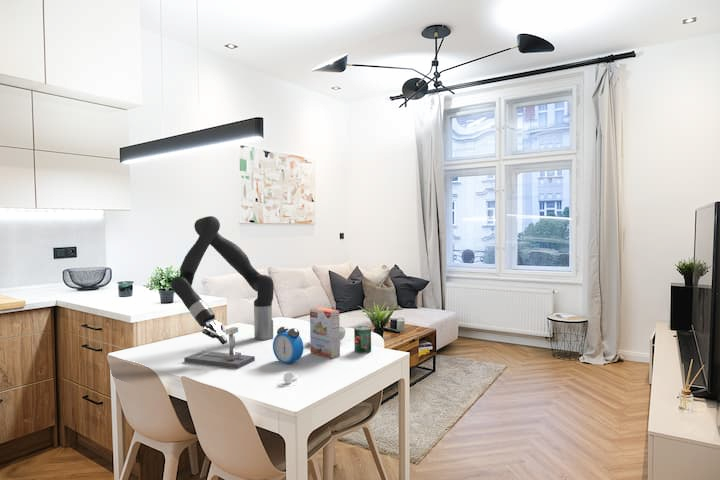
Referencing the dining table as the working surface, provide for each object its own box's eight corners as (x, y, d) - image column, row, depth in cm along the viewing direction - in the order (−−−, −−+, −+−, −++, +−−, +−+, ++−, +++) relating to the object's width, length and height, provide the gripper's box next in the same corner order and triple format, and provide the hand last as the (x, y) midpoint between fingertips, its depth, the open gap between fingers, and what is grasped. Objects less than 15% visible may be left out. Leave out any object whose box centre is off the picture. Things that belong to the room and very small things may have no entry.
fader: (223, 358, 195) (222, 329, 194) (231, 355, 200) (231, 326, 200) (233, 359, 193) (232, 330, 192) (241, 356, 198) (240, 327, 198)
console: (184, 362, 199) (184, 357, 198) (203, 354, 210) (203, 350, 210) (237, 368, 188) (237, 363, 188) (254, 360, 199) (254, 356, 199)
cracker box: (309, 353, 210) (309, 308, 210) (319, 350, 215) (318, 306, 214) (330, 359, 201) (330, 311, 200) (340, 356, 205) (339, 309, 204)
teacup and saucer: (292, 378, 177) (292, 368, 177) (305, 383, 171) (304, 372, 171) (273, 383, 171) (273, 373, 171) (285, 389, 165) (285, 378, 165)
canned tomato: (374, 351, 213) (374, 327, 213) (362, 354, 207) (362, 330, 207) (362, 348, 219) (362, 325, 218) (350, 351, 213) (350, 327, 213)
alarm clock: (272, 361, 198) (271, 327, 198) (282, 358, 203) (282, 324, 203) (294, 366, 191) (293, 330, 190) (304, 362, 196) (304, 328, 195)
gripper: (196, 310, 194) (220, 341, 190) (216, 305, 207) (239, 333, 203) (186, 321, 196) (210, 352, 192) (207, 315, 209) (230, 344, 205)
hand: (225, 342), depth 198 cm, fingers closed
